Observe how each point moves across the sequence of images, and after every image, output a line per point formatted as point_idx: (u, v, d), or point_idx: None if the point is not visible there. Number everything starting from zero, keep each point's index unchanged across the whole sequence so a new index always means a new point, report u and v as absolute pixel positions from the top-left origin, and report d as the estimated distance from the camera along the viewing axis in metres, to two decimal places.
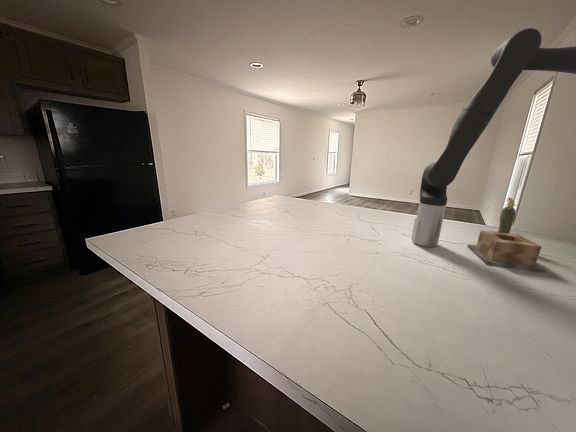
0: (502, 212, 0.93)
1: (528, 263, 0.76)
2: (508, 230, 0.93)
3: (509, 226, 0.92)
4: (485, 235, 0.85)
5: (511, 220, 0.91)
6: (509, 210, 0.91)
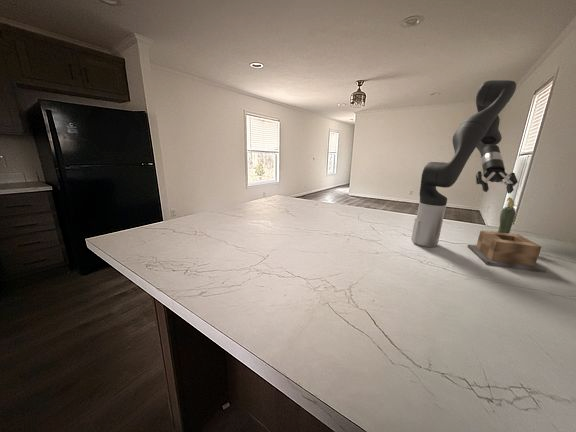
0: (502, 212, 0.93)
1: (528, 263, 0.76)
2: (508, 230, 0.93)
3: (509, 226, 0.92)
4: (485, 235, 0.85)
5: (511, 220, 0.91)
6: (509, 210, 0.91)
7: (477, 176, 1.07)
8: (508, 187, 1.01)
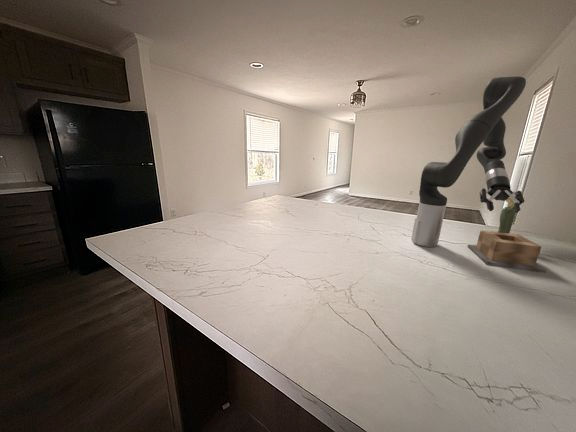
0: (502, 212, 0.93)
1: (528, 263, 0.76)
2: (508, 230, 0.93)
3: (509, 226, 0.92)
4: (485, 235, 0.85)
5: (511, 220, 0.91)
6: (509, 210, 0.91)
7: (481, 194, 1.01)
8: (514, 206, 0.95)
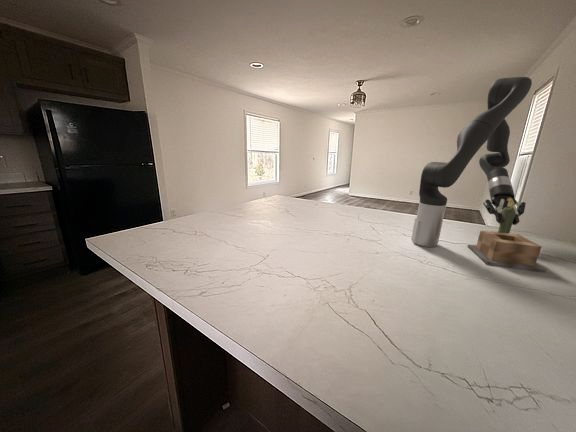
0: (502, 212, 0.93)
1: (528, 263, 0.76)
2: (508, 230, 0.93)
3: (509, 226, 0.92)
4: (485, 235, 0.85)
5: (511, 220, 0.91)
6: (509, 210, 0.91)
7: (487, 205, 0.97)
8: None
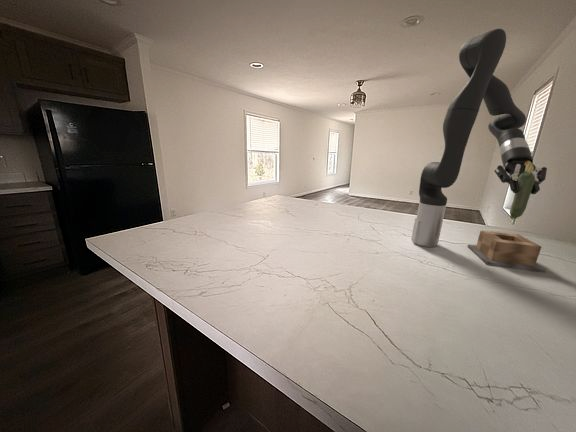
0: (518, 179, 0.76)
1: (528, 263, 0.76)
2: (525, 201, 0.76)
3: (527, 196, 0.75)
4: (485, 235, 0.85)
5: (530, 188, 0.74)
6: (527, 175, 0.74)
7: (499, 172, 0.80)
8: None
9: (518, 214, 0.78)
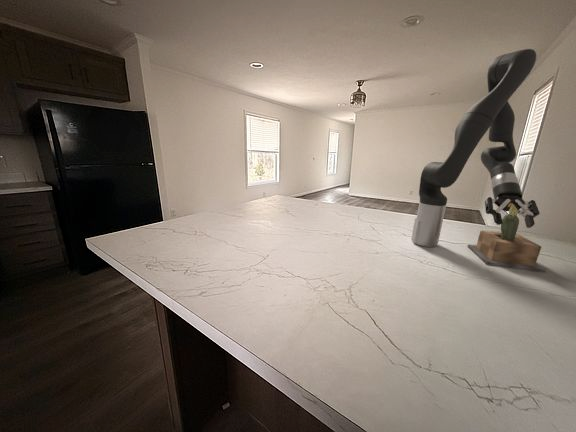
0: (503, 221, 0.79)
1: (528, 263, 0.76)
2: None
3: (512, 237, 0.78)
4: (485, 235, 0.85)
5: (514, 230, 0.77)
6: (511, 219, 0.77)
7: (487, 203, 0.84)
8: (527, 220, 0.78)
9: None
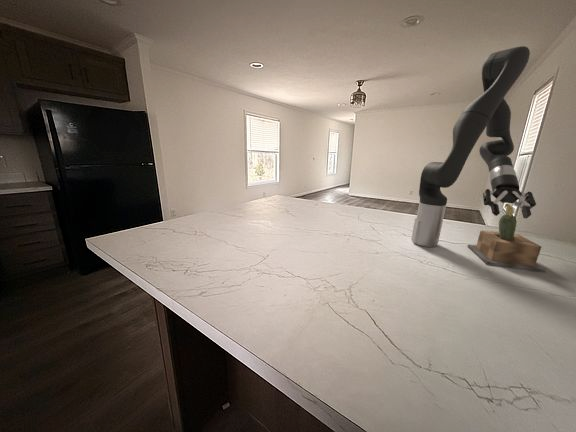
0: (500, 221, 0.79)
1: (528, 263, 0.76)
2: None
3: (511, 236, 0.78)
4: (485, 235, 0.85)
5: (512, 230, 0.77)
6: (508, 219, 0.77)
7: (485, 195, 0.86)
8: (524, 210, 0.81)
9: None
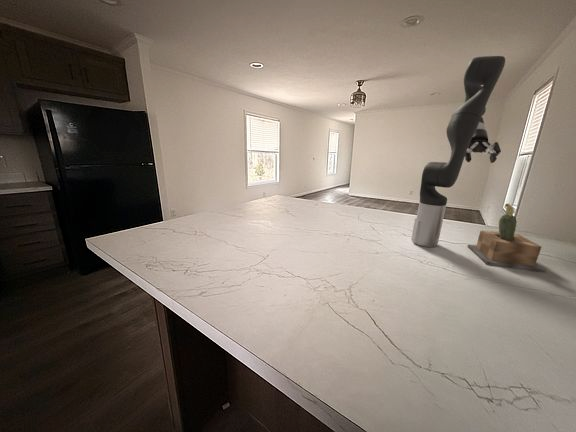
0: (500, 221, 0.79)
1: (528, 263, 0.76)
2: None
3: (511, 236, 0.78)
4: (485, 235, 0.85)
5: (512, 230, 0.77)
6: (508, 219, 0.77)
7: None
8: (491, 156, 0.98)
9: None
